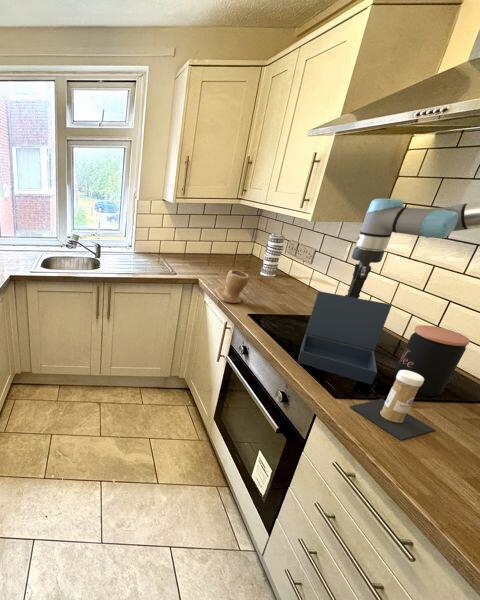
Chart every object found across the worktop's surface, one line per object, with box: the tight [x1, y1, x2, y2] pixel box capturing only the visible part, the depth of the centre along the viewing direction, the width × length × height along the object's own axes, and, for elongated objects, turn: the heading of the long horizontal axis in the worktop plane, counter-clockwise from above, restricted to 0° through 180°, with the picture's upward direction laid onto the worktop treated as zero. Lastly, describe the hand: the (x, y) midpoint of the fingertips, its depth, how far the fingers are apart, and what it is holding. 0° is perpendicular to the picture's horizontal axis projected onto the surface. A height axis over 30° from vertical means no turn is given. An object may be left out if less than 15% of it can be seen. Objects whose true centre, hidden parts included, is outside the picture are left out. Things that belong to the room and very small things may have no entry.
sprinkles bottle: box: [380, 370, 424, 423], centre depth 80 cm, size 5×5×13 cm
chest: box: [297, 333, 378, 386], centre depth 106 cm, size 15×19×5 cm
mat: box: [349, 398, 436, 442], centre depth 82 cm, size 12×12×1 cm
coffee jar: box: [392, 324, 471, 397], centre depth 92 cm, size 11×11×18 cm
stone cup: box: [214, 269, 250, 304], centre depth 156 cm, size 15×12×15 cm
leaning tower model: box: [260, 233, 286, 277], centre depth 193 cm, size 9×9×25 cm
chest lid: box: [305, 290, 393, 351], centre depth 108 cm, size 16×19×1 cm
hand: (345, 314), depth 111 cm, fingers closed
